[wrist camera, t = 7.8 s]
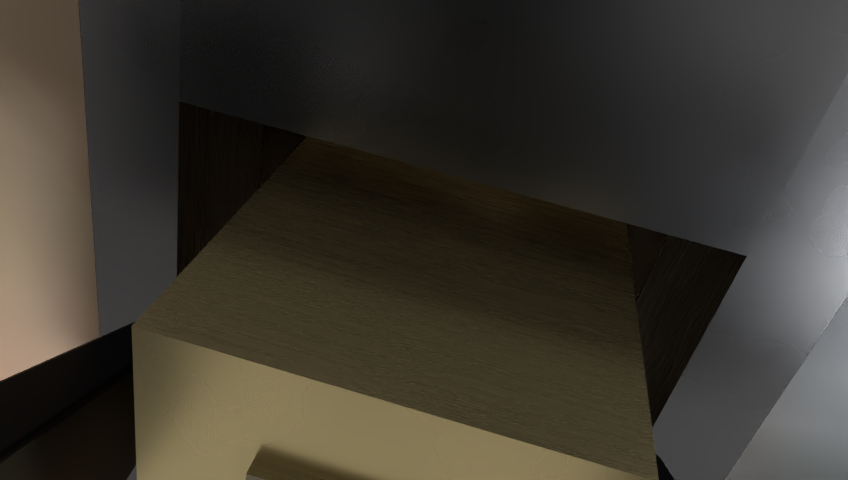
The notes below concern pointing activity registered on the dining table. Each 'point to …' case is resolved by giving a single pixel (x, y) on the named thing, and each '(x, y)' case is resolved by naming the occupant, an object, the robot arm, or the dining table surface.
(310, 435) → the beige square block
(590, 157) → the grey rectangular tray
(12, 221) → the dining table surface
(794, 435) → the dining table surface
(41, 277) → the dining table surface
